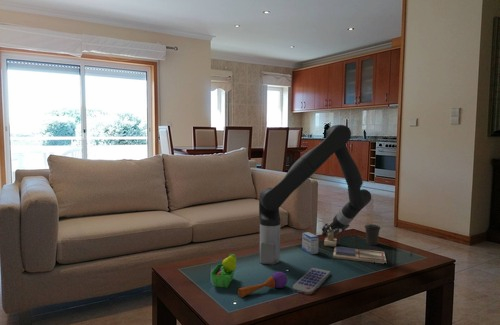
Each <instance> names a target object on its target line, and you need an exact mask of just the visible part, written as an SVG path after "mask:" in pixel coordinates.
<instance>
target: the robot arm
mask: <svg viewBox="0 0 500 325" xmlns="http://www.w3.org/2000/svg"><path fill="white" fill-rule="evenodd" d="M325 136H326V137H325V138H324V139H323V140H322V141H321V142H320V143H319V144H318V145H316V146H315V147H313V148H311V149H310V150H308V151H307V152H305V153H304V154H303V155H301V156H300V157H299V158H298V159H297V160H296V161H295V162H294V163H293V164H292V165H291V166H290V168H289V169H288V171H287V172H286V174H285V175H284V177H283V178H282V179H281V180H280V181H279V182H278V183H277V184H276V185H274V187H267V188H264V189H263V190H261V192H260V193H259V198H258V206H259V207H258V216H259V260H260V261H259V262H260V264H264V265H271V266H272V265H273V266H274V265H275V264H278V263H279V262H280V260H281V259H280V258H281V257H280V255H281V253H280V252H281V216H280V207H281V206H282V205H283V204H284V203H285V201H286V200H287V199H288V198H289V197H290V196H291V195H292V194H293V192H294V191H296V190H297V189H298V188H299V187H301V185H303V184H304V183H305V182H307V180H308V179H309V178H310V177H312V176H313V174H315V172H316V171H317V170H319V169H320V168H321V167H322V166H323V165H324V163H325V162H326V161H328V160H329V158H330V157H331V156H333V155H334V154H335V156H336V159H337V161H338V163H339V166H340V168H341V170H342V171H341V172H342V174H343V177H344V179H345V183H346V185H347V194H348V200H349V201H348V202H347V203H345V204H344V206H343V207H342V208H340V210H339V211H338V212H337V213H336V214H335V215H334V217H333V218H332V222H331V223H330V224H328V223H325V224H324V226H323V227H322V228H321V231H322V232H321V236H322V237H323V238H326V236H328V233H329V232H333V231H334V236H338V234H339V233H341V232H345V231H346V230H347V229H348V228H349V227H350V223H351V222H352V221H353V220H354V218H355V217H356V216H357V215H358V214H359V213H360V211H362V209H364V208H365V207H366V206H368V204H369V203H370V202H371V200H372V194H371V192H370V191H369V190H368V189H365V188H364V189H363V188H362V186H363V184H364V181H363V178H362V175H361V172H360V170H359V167H358V166H357V163H356V162H355V161H354V159H353V157H352V156H351V154H350V151H349V149H348V147H347V146H348V145H347V144H348V143H349V141H350V139H351V138H352V131H351V129H350V128H349V127H348V126H347V125H343V124H336V125H331V126H329V127H328V129H327V130H326V133H325ZM361 188H362V189H361ZM330 228H331V229H332V230H331V229H330ZM328 230H329V231H328Z"/></svg>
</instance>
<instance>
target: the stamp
mask: <svg viewBox="0 0 500 325" xmlns="http://www.w3.org/2000/svg"><path fill="white" fill-rule="evenodd" d="M330 229H331V227H330ZM331 230H332V229H331ZM328 231H329V230H328ZM334 231H335V230H334ZM334 231H333V232H329V233H328V234H327V237H324V242H323V244H324V245H323V246H324V247H331V248H335V247H337V245H338V244H337V242H338V241H337V240H338V239H337V238H334V236H335V235H334Z"/></svg>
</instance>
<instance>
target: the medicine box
mask: <svg viewBox="0 0 500 325" xmlns="http://www.w3.org/2000/svg"><path fill="white" fill-rule="evenodd" d="M301 238H302V239H301V243H302V244H301V250H302V251H304V252H306V253H308V254H310V255H316V254H318V253H319V236H318V235H316V234H314V233H311V232H310V231H309V232H308V231H307V232H302V237H301Z"/></svg>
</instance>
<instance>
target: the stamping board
mask: <svg viewBox="0 0 500 325" xmlns="http://www.w3.org/2000/svg"><path fill="white" fill-rule="evenodd" d="M336 247H337V246H336ZM336 247H333V253H332V254H333V255H332V258H333V259H339V260H346V261H347V260H348V261H355V262H358V261H359V262H367V263H374V262H375V263H376V264H384V263H386V264H387V257H386V255H385V251H379V250H371V249H363V248H362V249H359V248H355V256H346V255H336Z"/></svg>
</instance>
